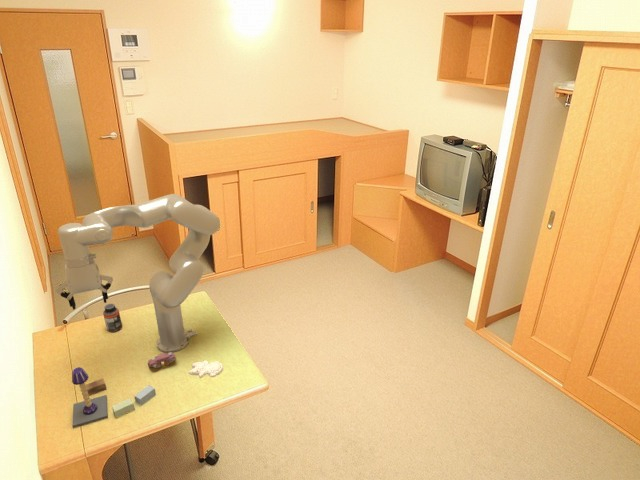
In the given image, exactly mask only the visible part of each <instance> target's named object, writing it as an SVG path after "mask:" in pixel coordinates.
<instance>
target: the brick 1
mask: <svg viewBox="0 0 640 480" xmlns="http://www.w3.org/2000/svg"><path fill="white" fill-rule="evenodd" d="M85 385H86V388H87V391H88V394H89V397H90V396H93V395H95V394H99V393H101V392H103V391H107V386H106V383H105V380H104V378H100V379H98V380H95V381H93V382H90V383H85Z"/></svg>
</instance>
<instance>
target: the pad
mask: <svg viewBox="0 0 640 480" xmlns="http://www.w3.org/2000/svg"><path fill="white" fill-rule="evenodd" d="M90 401H91V403H94V404H96V405H97V410H96V411H95V412H94V413H92V414H90V415H85V414H84V413H83V409H84V407H85V406H86V403H85V401H84V400H83V401H79V402H75V403H73V407H72V423H71V425H72V428H73V429H75V428H79V427H81V426H84V425H89V424H92V423H95V422H98V421H102V420H106V419H108V416H109V415H108V414H109V413H108V411H109V410H108V395H107V394H105V395H101V396H97V397H94V398H90Z"/></svg>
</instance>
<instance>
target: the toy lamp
mask: <svg viewBox="0 0 640 480" xmlns="http://www.w3.org/2000/svg"><path fill="white" fill-rule="evenodd" d="M89 379H90V377H89V375H88V373H87V372H86V371H85V369H84V368H83V367H79V366H78V367H75V368H74V369H72V372H71V382H72V384H73V385H75V386H79V388H80V392H81V395H82V398H83V401H85V403H86V406H85V407H84V409H83V413H84V414H85V415H90V414H92V413H94V412H95V411H96V410H97V405H96V404H94V403H91V401H90V399H91V398H90V396H89V394H88V391H87V388H86V382H87V381H88V380H89Z"/></svg>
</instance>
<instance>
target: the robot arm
mask: <svg viewBox="0 0 640 480" xmlns="http://www.w3.org/2000/svg"><path fill="white" fill-rule="evenodd" d="M169 220H172V222H174V223H175V224H178V225H180V226H182V227H184V228H187V229H188V233H187V234H186V236H185V238H184V240H183V241H182V242H181V244H180V245H179V246H178V247H177V248H176V250H175V251H174V253H173V254H172V255H171V256H170V258H169V261H168V265H169V267H170V269H171V271H172V272H173V273H174V275H173V273H171V272H169V271H166V270H160V271H156V272H155V273H154V274H153V275H152V276H151V277H150V280H149V284H148V285H149V286H148V287H149V292H150V295H151V296H150V297H151V298H152V302H153V307H154V311H155V319H156V325H157V330H158V335H159V336H158V339H157V340H156V348H157V349H158V351H161V352H162V353H170V352H172V353H176V352H179V351H181V350H184V349H185V348H186V347H187V346H188V345H189V343H190V337H195V336H198V334H197V333H198V332H197V330H194V329H193V328H189V329H185V326H184V320H183V313H182V306H181V304H182V303H184V301H186V300H187V298H189V295H190V294H191V293H192V292H193V290H194V289H195V288H196V286H197V285H198V283H199V282H200V280H201V279H202V278H203V274H204V265H203V263H202V262H201V261H200V260H199V259H200V258H201V257H202V254H203V253H204V251H205V250H206V249H207V247H208V245H209V243H210V238H211V236H212V235H215V234H216V233H217V232H218V231H219V229H220V226H221V222H220V218H219V217H218V215H216V214H215V213H214V212H212V211H211V210H210V209H208V208H207V207H206V206H204V205H201V204H194V203H191V202H190V201H188V200H187V199H186V198H185V197H182V196H181V195H180V194H176V193H170V194H167V195H166V194H165V195H163V196H159V197H156V198H154V199H153V198H152V199H150V200H147V201H144V202H141V203H135V204H128V205H127V204H126V205H117V206H110V207H106V208H102V209H100V210H96V211H93V212H91V213H89V214H87V215H86V216H85V217H84V218H83V219H82V222H81V223H79V222H69V223H66V224H63V225H61V226H60V227H58V229H57V233H58V238H59V242H60V247H61V250H62V252H63V257H64V260H65V264H64V273H65V275H64V277H65V281H64V282H63V283H61V284H60V285H58V286H57V287H56V288H55V292H56V293H57V294H58V295H60V296H61V297H62V298H64V299H66V300H67V301H68V304H69V307H71V308H72V310H73V311H74V310H76V308H77V307H76V300H75V297H74V295H76V294H81V293H87V292H91V291H95V290H100V291H101V294H102V300H103V303H104V304H107V300H108V299H109V296H108V290H109V289H110V288H111V286H112V283H113V281H114V277H112V276H109V275H105V274H104V275H103V274H101V273H100V270H99V269H100V268H99V266H98V265H97V262H96V260H95V259H96V258H97V254H96V253H92V252H91V250H90V247H89V246H96V245H104V244H106V243H109V242H110V241H112V239H113V237H114V230H113V228H118V227H124V226H126V227H127V226H128V227H129V226H131V227H136V228H140V229H141V228H144V229H145V228H149V227H151V226H152V227H153V226H154V225H159V224H160V223H161V224H162V222H163V223H164V222H167V221H169ZM103 281H106V284H104V283H102V282H103ZM66 288H67V290H68V292H67V291H64V289H66Z"/></svg>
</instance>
